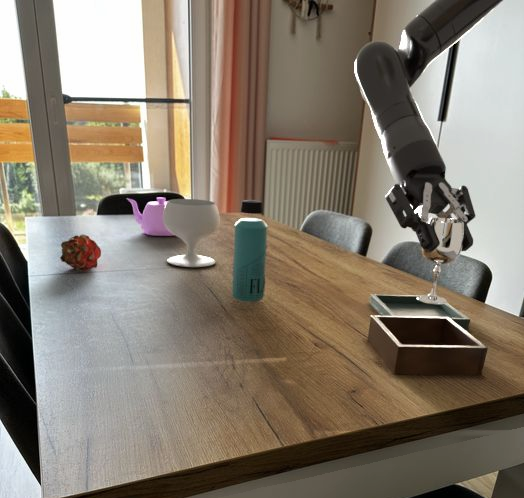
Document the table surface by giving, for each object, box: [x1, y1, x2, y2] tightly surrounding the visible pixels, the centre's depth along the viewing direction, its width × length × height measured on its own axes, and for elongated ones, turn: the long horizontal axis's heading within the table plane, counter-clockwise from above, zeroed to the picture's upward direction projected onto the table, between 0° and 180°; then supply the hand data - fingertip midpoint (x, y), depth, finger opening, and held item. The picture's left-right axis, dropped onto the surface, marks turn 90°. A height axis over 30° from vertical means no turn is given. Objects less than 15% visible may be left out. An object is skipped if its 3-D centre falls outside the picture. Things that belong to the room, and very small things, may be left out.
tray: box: [369, 293, 471, 331], centre depth 101 cm, size 15×15×2 cm
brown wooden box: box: [367, 314, 489, 376], centre depth 81 cm, size 14×14×4 cm
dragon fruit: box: [59, 234, 102, 272], centre depth 118 cm, size 8×8×12 cm
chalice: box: [163, 198, 221, 268], centre depth 128 cm, size 14×14×15 cm
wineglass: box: [417, 217, 464, 304], centre depth 76 cm, size 6×6×12 cm
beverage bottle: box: [231, 199, 269, 303], centre depth 98 cm, size 6×7×20 cm
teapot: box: [125, 196, 175, 237], centre depth 162 cm, size 13×20×11 cm
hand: (450, 248), depth 74 cm, fingers closed on wineglass, 5 cm apart
